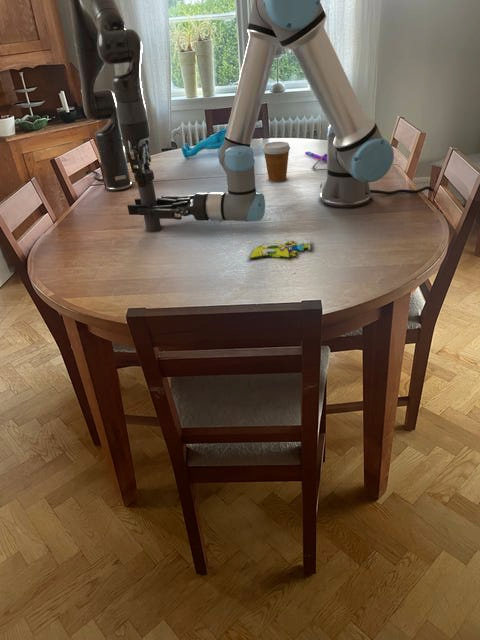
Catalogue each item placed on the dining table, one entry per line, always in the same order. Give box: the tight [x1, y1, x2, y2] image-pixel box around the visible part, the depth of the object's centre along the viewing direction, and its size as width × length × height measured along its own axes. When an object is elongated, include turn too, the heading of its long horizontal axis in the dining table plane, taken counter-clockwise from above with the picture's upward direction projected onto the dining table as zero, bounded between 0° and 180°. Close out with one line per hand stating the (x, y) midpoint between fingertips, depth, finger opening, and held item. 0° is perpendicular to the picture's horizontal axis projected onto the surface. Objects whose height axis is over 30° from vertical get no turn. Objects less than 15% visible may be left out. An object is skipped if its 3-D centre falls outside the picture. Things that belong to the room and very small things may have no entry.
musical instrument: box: [304, 151, 327, 171], centre depth 185 cm, size 24×2×20 cm
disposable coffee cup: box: [262, 141, 291, 183], centre depth 169 cm, size 10×10×12 cm
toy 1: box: [180, 128, 227, 159], centre depth 204 cm, size 17×11×30 cm
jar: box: [137, 180, 162, 233], centre depth 137 cm, size 4×4×16 cm
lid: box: [133, 168, 155, 183], centre depth 133 cm, size 5×5×2 cm
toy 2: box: [249, 240, 312, 260], centre depth 122 cm, size 10×1×15 cm
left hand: (145, 183), depth 134 cm, fingers closed on lid, 5 cm apart
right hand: (132, 206), depth 139 cm, fingers closed on jar, 4 cm apart
